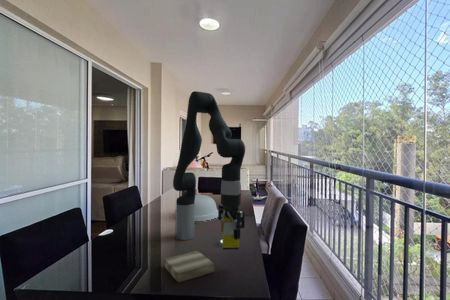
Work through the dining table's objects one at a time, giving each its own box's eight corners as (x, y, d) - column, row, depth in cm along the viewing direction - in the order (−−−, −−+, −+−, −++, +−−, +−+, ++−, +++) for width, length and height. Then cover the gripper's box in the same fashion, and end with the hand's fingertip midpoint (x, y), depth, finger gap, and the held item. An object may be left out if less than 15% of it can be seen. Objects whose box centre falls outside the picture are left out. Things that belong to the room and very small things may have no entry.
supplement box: (237, 243, 96) (237, 215, 96) (239, 249, 90) (239, 219, 90) (222, 243, 96) (222, 215, 96) (222, 250, 90) (223, 219, 90)
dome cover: (223, 211, 183) (223, 192, 183) (215, 223, 153) (215, 200, 153) (182, 210, 188) (182, 191, 188) (166, 221, 158) (166, 199, 158)
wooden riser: (164, 266, 95) (164, 258, 95) (197, 258, 103) (197, 250, 103) (178, 282, 83) (178, 273, 83) (214, 271, 91) (214, 263, 91)
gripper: (212, 190, 97) (212, 231, 97) (233, 196, 85) (233, 243, 85) (228, 188, 101) (228, 228, 101) (250, 194, 89) (250, 239, 89)
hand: (230, 235), depth 93 cm, fingers closed on supplement box, 8 cm apart
